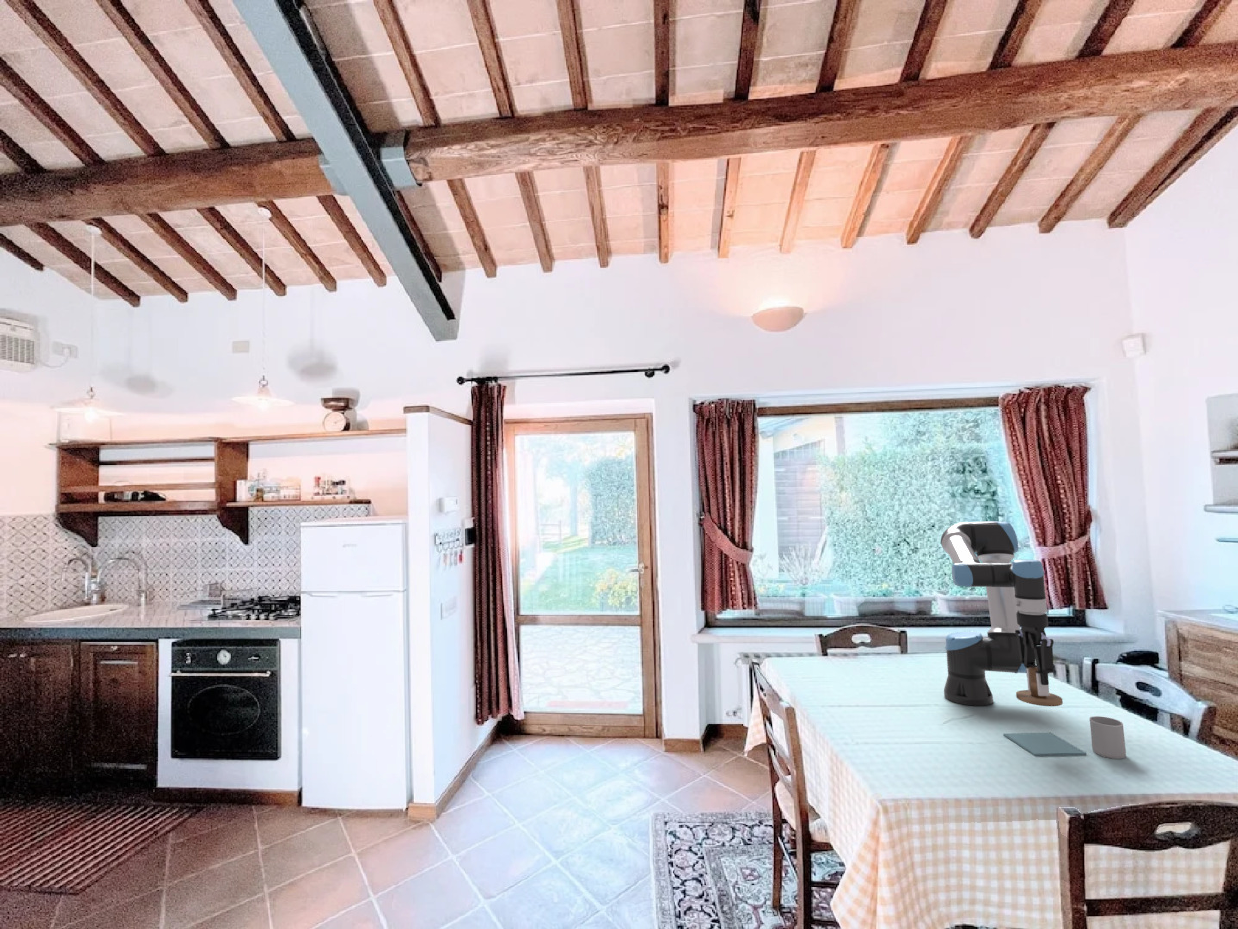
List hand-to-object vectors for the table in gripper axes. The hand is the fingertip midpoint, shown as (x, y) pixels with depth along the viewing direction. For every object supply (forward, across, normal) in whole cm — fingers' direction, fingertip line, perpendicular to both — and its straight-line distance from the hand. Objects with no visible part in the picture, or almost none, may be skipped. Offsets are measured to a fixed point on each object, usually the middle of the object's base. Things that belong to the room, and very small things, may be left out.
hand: (1038, 692), depth 167 cm
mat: (+15, 0, 0) cm, 15 cm away
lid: (+2, 0, 0) cm, 2 cm away
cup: (+15, +5, +14) cm, 21 cm away
